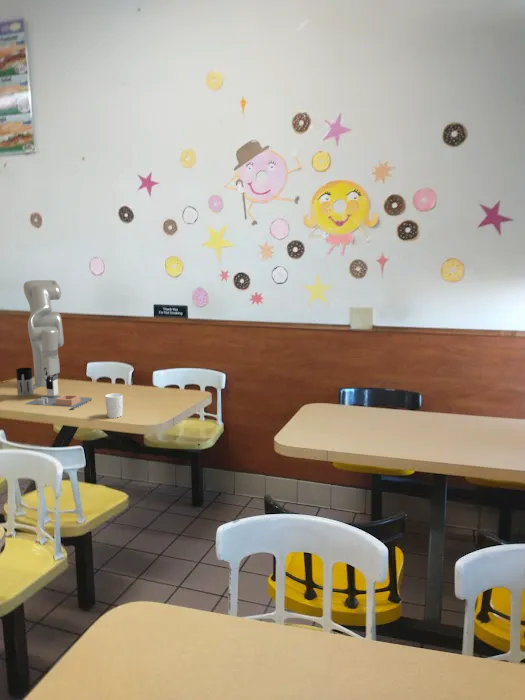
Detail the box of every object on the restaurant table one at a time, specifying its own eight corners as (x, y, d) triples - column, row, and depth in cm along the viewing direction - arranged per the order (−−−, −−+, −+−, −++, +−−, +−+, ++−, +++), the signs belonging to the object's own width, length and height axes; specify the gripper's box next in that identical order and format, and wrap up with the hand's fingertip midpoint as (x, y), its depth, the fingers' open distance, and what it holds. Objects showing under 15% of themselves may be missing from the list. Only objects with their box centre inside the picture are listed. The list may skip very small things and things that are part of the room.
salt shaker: (51, 393, 284) (50, 374, 283) (58, 393, 284) (57, 375, 282) (46, 395, 280) (45, 376, 279) (54, 395, 280) (52, 376, 278)
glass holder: (35, 394, 293) (33, 367, 291) (33, 400, 280) (31, 372, 277) (17, 395, 291) (15, 367, 288) (14, 402, 277) (12, 373, 275)
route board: (45, 397, 286) (45, 389, 285) (91, 400, 281) (91, 392, 280) (25, 407, 269) (24, 398, 268) (73, 410, 264) (72, 401, 263)
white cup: (103, 418, 251) (102, 397, 249) (110, 413, 259) (109, 392, 257) (119, 418, 250) (118, 397, 248) (126, 414, 258) (125, 393, 256)
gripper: (52, 349, 287) (54, 383, 290) (33, 355, 271) (36, 391, 274) (65, 350, 285) (67, 384, 289) (47, 356, 269) (49, 392, 273)
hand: (52, 387), depth 281 cm, fingers closed on salt shaker, 4 cm apart
